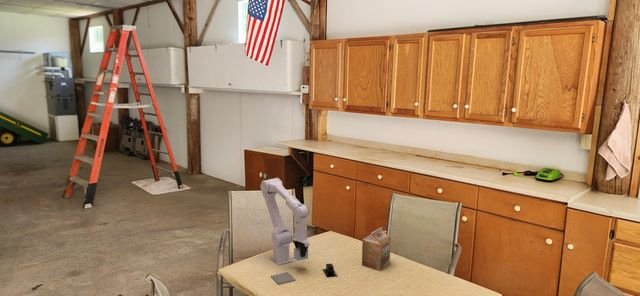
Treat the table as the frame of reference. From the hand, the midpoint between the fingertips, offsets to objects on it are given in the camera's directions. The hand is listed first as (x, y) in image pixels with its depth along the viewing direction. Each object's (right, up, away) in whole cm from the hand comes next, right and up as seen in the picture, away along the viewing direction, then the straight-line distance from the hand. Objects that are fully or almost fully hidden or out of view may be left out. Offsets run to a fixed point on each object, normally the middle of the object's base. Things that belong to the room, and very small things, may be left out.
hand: (300, 255), depth 216 cm
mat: (-8, -9, -9) cm, 15 cm away
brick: (0, -2, 0) cm, 2 cm away
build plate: (+14, -9, -2) cm, 17 cm away
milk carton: (+39, -7, +8) cm, 40 cm away
